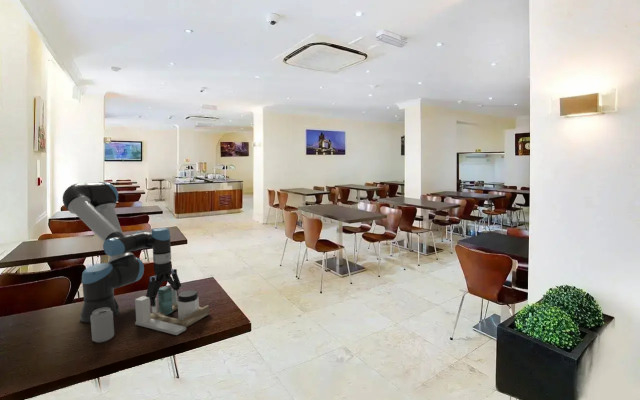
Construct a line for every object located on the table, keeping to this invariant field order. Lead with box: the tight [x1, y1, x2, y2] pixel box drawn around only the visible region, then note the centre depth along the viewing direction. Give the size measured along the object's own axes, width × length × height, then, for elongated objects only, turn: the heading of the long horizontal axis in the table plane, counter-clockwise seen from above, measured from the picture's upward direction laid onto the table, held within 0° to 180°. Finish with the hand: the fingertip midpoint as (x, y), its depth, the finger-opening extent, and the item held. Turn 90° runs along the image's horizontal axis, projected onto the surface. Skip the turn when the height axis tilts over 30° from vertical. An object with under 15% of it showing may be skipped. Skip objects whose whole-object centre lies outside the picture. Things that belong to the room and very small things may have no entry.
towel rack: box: [150, 285, 210, 328], centre depth 151 cm, size 22×14×12 cm
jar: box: [177, 289, 200, 320], centre depth 149 cm, size 9×8×12 cm
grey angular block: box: [134, 295, 187, 336], centre depth 141 cm, size 24×5×11 cm, turn 67°
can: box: [90, 307, 115, 343], centre depth 132 cm, size 8×8×12 cm
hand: (165, 307), depth 154 cm, fingers closed on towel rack, 11 cm apart
